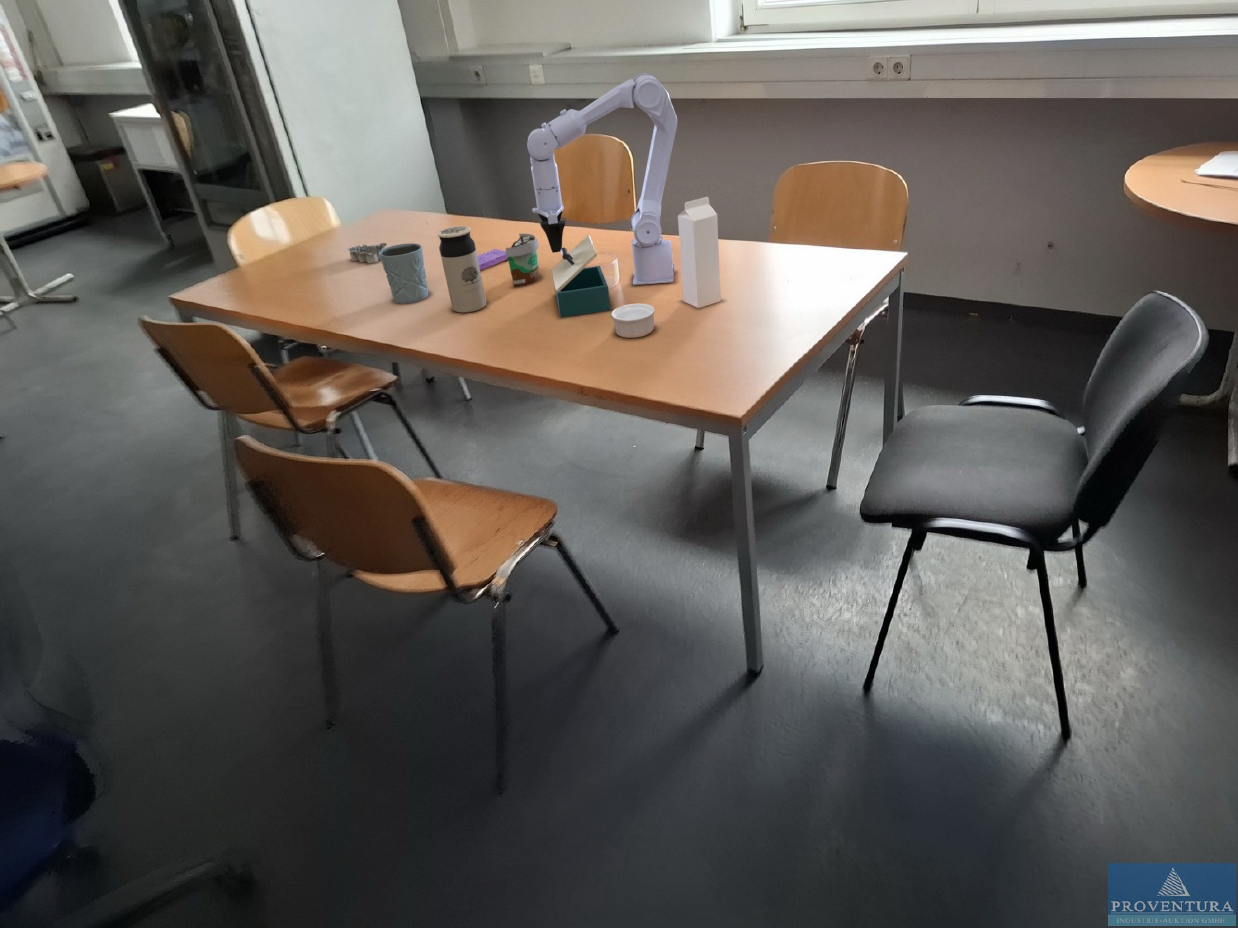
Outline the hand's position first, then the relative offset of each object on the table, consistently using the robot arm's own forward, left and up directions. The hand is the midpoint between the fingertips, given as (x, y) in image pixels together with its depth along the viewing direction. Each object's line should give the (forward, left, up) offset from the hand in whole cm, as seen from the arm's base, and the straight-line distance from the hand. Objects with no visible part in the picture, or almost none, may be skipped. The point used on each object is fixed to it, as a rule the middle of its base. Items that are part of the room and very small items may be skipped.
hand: (555, 247), depth 190 cm
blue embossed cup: (+38, -3, -11) cm, 40 cm away
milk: (-33, +14, -11) cm, 37 cm away
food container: (+9, -9, -11) cm, 17 cm away
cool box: (-6, +10, -10) cm, 15 cm away
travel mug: (+21, +7, -11) cm, 25 cm away
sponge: (+24, -25, -11) cm, 36 cm away
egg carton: (+61, -38, -11) cm, 73 cm away
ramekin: (-19, +28, -11) cm, 35 cm away
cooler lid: (-5, +10, -1) cm, 11 cm away
